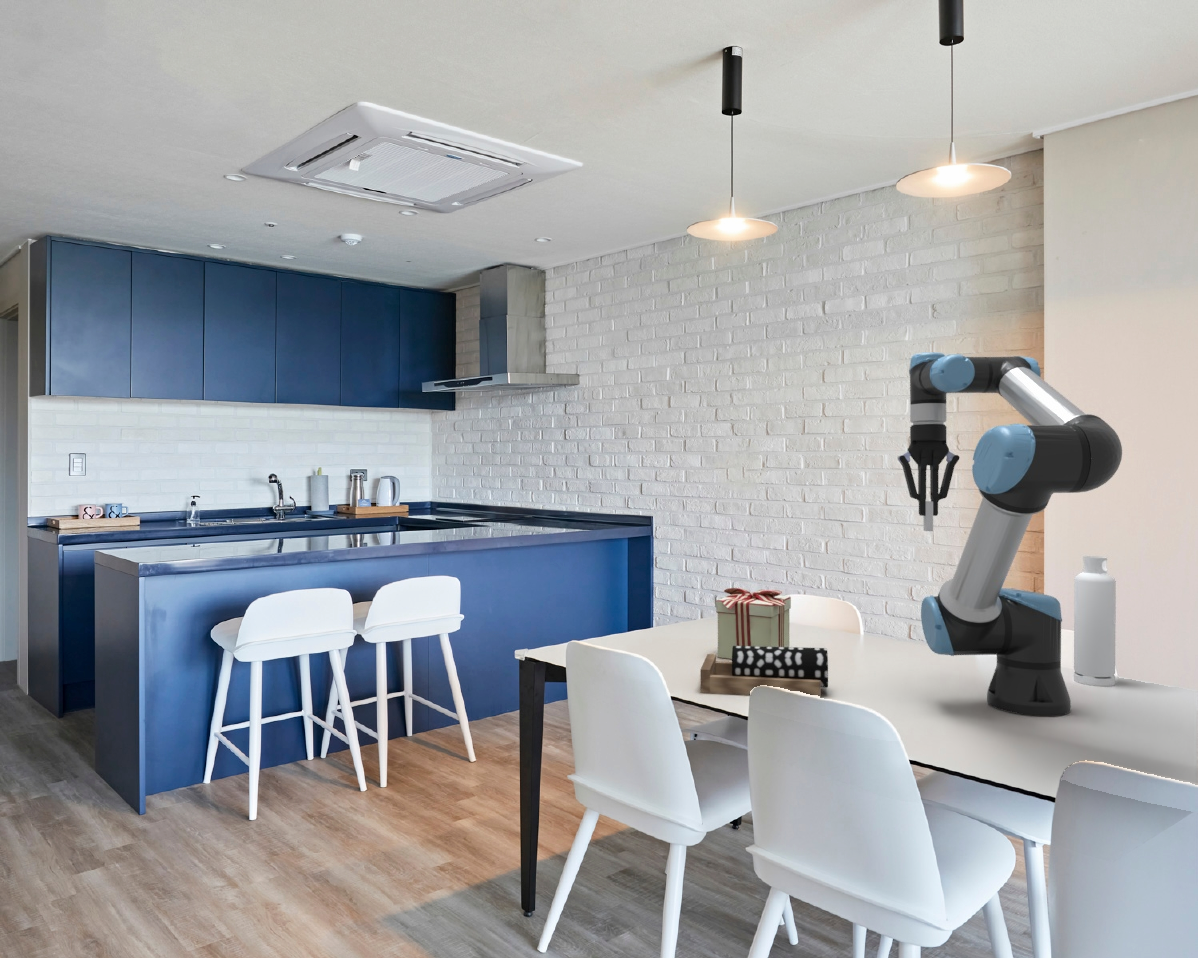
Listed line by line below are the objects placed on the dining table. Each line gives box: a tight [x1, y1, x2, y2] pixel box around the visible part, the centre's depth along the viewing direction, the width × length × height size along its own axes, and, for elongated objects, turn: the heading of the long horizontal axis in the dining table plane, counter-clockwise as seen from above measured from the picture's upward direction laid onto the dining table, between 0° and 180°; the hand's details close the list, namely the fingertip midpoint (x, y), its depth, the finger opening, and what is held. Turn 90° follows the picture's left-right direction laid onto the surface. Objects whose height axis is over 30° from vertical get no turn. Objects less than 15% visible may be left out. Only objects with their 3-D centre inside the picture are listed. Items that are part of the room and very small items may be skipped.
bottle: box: [1073, 555, 1117, 687], centre depth 199 cm, size 8×8×28 cm
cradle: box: [699, 653, 822, 697], centre depth 195 cm, size 25×16×5 cm, turn 78°
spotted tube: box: [731, 646, 829, 689], centre depth 192 cm, size 8×8×20 cm
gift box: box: [715, 587, 792, 660], centre depth 226 cm, size 17×18×17 cm
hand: (928, 530), depth 196 cm, fingers closed
